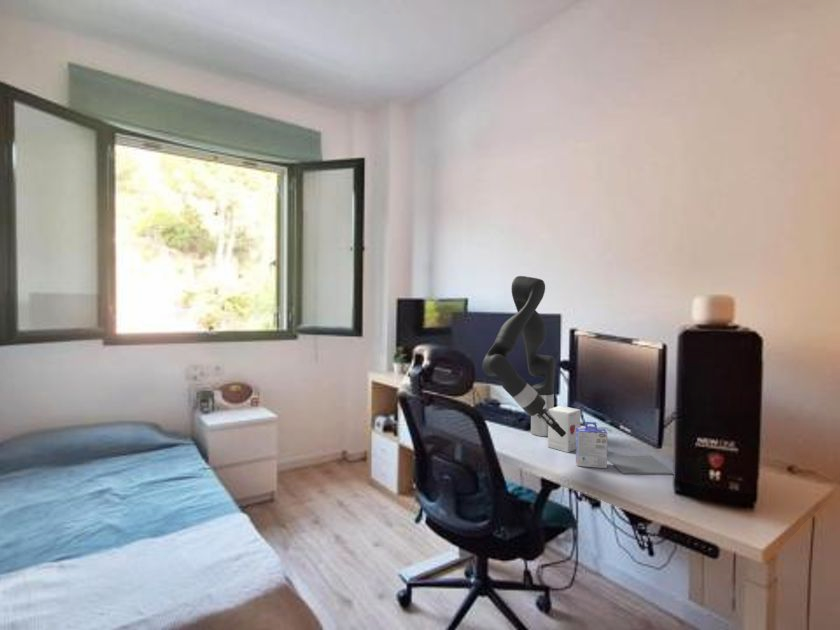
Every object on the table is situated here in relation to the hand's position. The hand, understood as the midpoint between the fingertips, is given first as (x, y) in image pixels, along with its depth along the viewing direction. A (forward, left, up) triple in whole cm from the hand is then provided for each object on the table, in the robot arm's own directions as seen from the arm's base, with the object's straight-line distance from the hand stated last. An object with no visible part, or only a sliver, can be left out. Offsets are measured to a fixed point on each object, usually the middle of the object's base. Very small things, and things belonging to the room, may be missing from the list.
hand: (563, 434), depth 157 cm
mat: (0, +26, -10) cm, 28 cm away
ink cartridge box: (0, +10, -11) cm, 14 cm away
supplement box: (-18, +6, -11) cm, 22 cm away
